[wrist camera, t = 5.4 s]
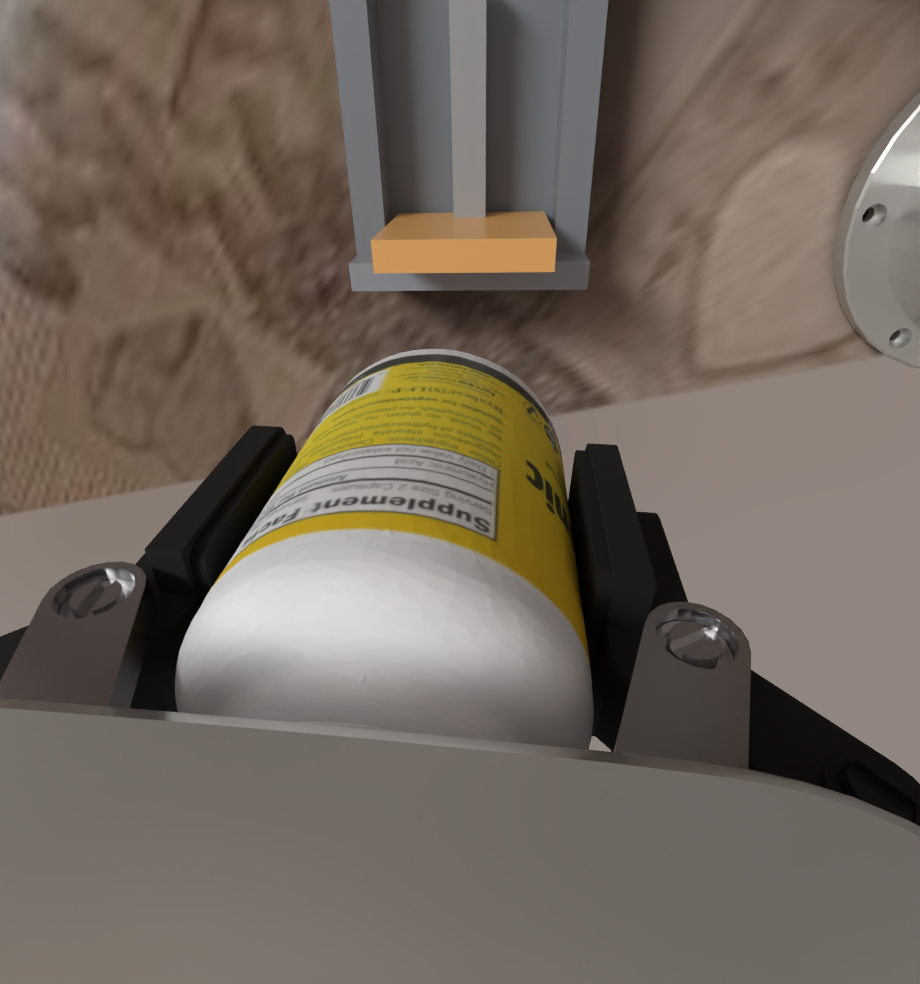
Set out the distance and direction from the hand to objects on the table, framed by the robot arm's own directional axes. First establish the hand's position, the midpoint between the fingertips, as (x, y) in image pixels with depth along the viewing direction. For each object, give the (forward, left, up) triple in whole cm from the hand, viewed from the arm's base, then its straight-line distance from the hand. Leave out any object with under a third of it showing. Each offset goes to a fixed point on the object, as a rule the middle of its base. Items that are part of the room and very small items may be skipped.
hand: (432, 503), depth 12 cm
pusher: (0, -6, -16) cm, 17 cm away
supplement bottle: (0, 0, -2) cm, 2 cm away
